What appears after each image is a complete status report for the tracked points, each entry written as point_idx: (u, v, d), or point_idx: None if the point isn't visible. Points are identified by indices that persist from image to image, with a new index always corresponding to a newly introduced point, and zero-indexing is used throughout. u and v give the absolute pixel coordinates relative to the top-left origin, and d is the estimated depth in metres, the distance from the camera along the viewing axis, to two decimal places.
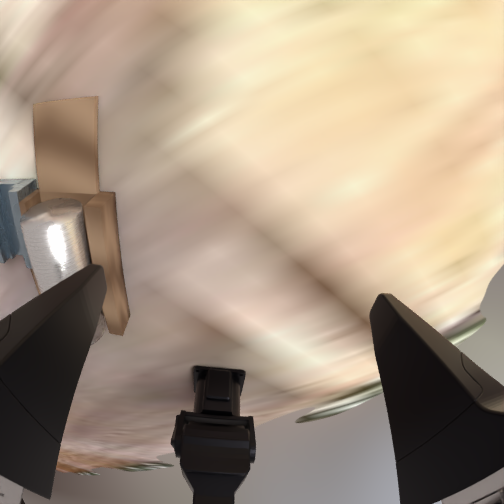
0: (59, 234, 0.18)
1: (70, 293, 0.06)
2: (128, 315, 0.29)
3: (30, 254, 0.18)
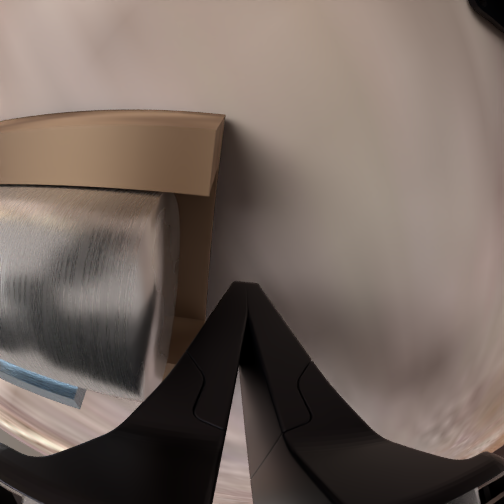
0: None
1: (243, 317, 0.07)
2: (208, 115, 0.08)
3: None
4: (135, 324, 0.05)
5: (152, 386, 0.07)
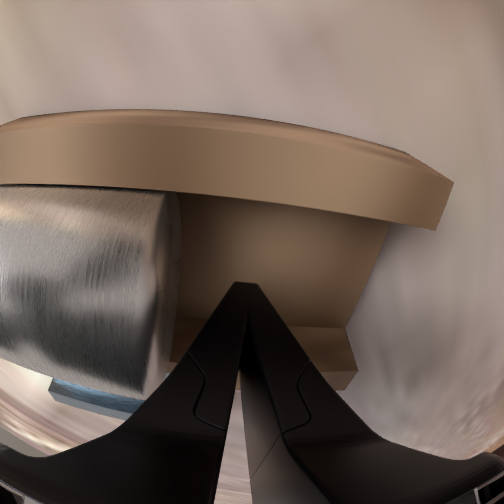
0: None
1: (244, 317, 0.07)
2: (400, 152, 0.08)
3: None
4: (140, 322, 0.05)
5: (155, 384, 0.07)
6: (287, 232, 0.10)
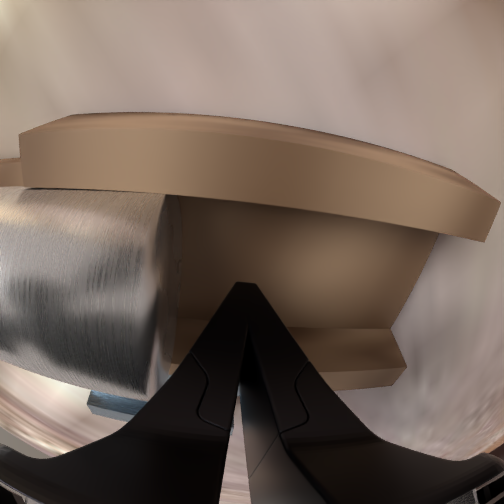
0: None
1: (246, 317, 0.07)
2: (451, 171, 0.09)
3: None
4: (141, 323, 0.05)
5: (158, 385, 0.07)
6: (355, 242, 0.10)
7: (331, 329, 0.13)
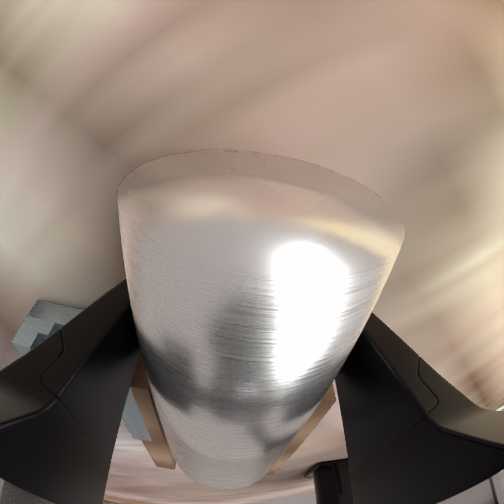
0: None
1: (125, 303, 0.07)
2: None
3: (196, 373, 0.05)
4: None
5: None
6: None
7: None
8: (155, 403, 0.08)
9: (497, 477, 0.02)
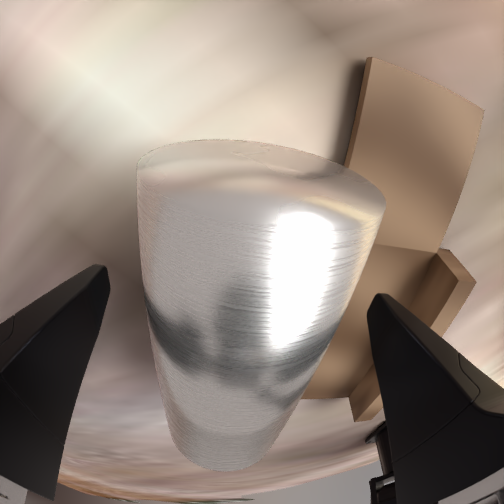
0: (366, 250, 0.05)
1: (74, 294, 0.06)
2: None
3: (192, 323, 0.06)
4: None
5: None
6: (342, 373, 0.19)
7: None
8: (156, 370, 0.09)
9: None
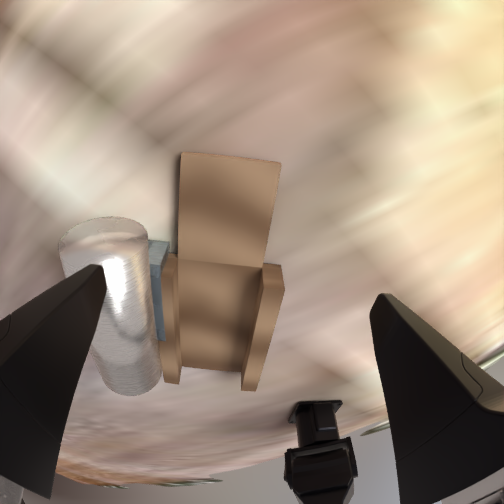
0: (122, 273, 0.14)
1: (70, 293, 0.06)
2: None
3: None
4: None
5: None
6: (225, 350, 0.28)
7: (180, 348, 0.28)
8: None
9: None
